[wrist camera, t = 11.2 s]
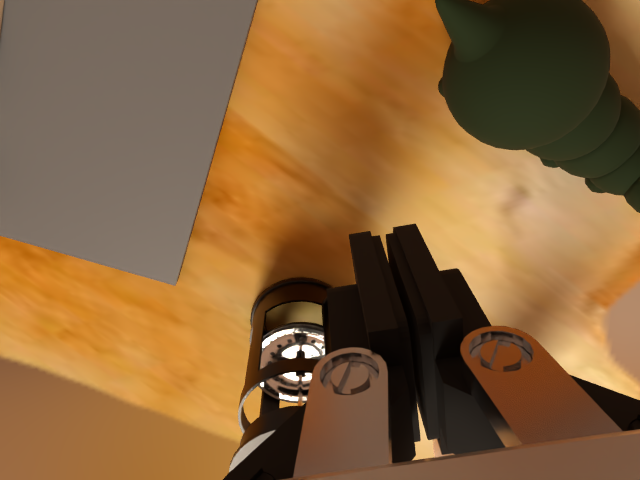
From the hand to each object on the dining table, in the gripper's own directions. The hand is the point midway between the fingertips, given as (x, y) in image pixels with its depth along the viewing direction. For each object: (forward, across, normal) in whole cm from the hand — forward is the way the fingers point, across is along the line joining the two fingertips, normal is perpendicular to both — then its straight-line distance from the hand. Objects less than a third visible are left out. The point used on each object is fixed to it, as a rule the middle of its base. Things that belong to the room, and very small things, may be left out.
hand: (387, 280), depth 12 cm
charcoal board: (+27, +19, -2) cm, 33 cm away
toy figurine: (+27, -16, +3) cm, 32 cm away
